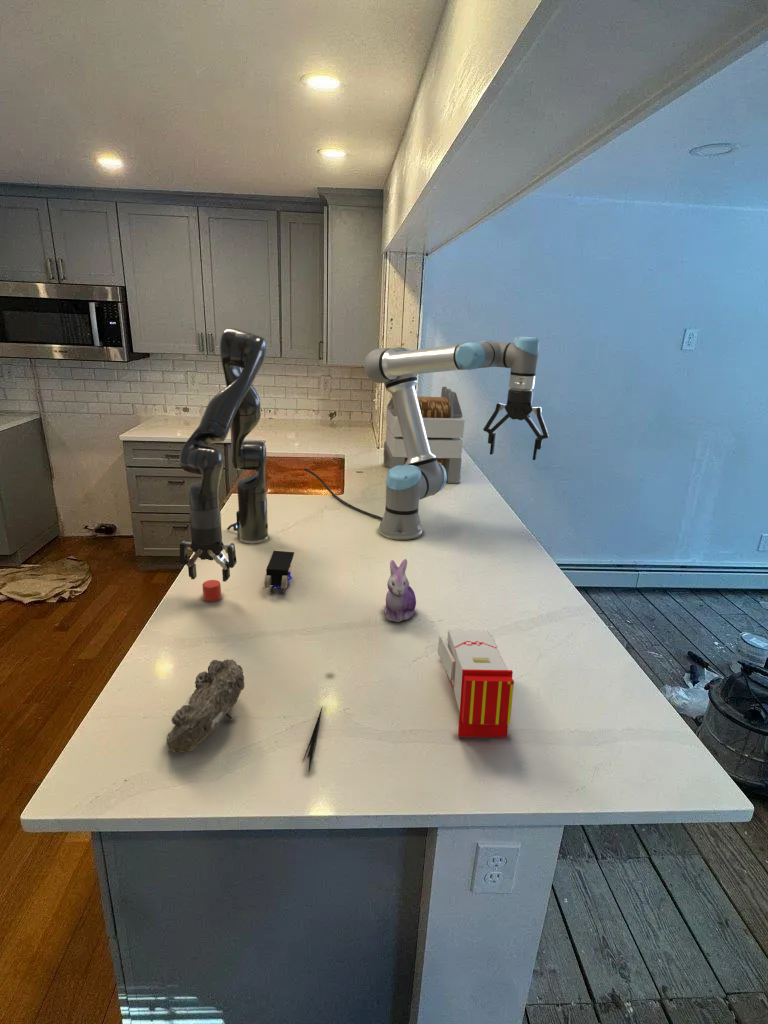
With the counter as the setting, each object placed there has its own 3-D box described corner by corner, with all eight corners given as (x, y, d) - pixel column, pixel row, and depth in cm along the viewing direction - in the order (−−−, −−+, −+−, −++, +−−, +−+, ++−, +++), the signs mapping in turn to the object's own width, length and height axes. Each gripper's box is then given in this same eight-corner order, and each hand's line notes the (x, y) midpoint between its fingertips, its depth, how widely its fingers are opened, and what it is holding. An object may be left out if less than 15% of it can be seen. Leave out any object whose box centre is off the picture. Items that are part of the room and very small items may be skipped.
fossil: (192, 660, 117) (244, 628, 112) (224, 691, 120) (276, 661, 115) (142, 746, 98) (202, 712, 93) (182, 779, 101) (242, 748, 96)
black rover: (288, 601, 154) (295, 571, 167) (287, 577, 151) (294, 549, 164) (263, 600, 154) (272, 570, 167) (262, 576, 150) (271, 548, 164)
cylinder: (213, 591, 155) (212, 578, 153) (224, 596, 152) (224, 582, 151) (199, 597, 151) (198, 584, 150) (211, 603, 149) (210, 589, 147)
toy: (488, 613, 130) (523, 677, 101) (484, 667, 133) (517, 744, 104) (435, 612, 130) (455, 676, 101) (432, 666, 133) (451, 743, 103)
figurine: (392, 627, 141) (395, 572, 136) (374, 608, 149) (376, 556, 144) (425, 619, 145) (429, 566, 140) (405, 601, 154) (408, 550, 149)
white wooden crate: (382, 463, 289) (386, 382, 275) (445, 464, 293) (451, 384, 279) (390, 482, 257) (394, 392, 243) (460, 483, 261) (468, 394, 247)
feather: (331, 679, 122) (336, 673, 122) (307, 777, 96) (313, 769, 95) (324, 675, 122) (329, 669, 121) (298, 772, 95) (304, 764, 95)
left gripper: (237, 519, 148) (240, 574, 153) (184, 515, 148) (188, 571, 154) (228, 530, 141) (231, 588, 146) (172, 526, 141) (177, 583, 147)
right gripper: (478, 387, 175) (471, 453, 183) (561, 394, 167) (551, 464, 174) (483, 384, 182) (477, 449, 189) (563, 391, 174) (553, 458, 181)
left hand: (209, 579), depth 150 cm, fingers open, 8 cm apart
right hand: (512, 456), depth 182 cm, fingers open, 13 cm apart
